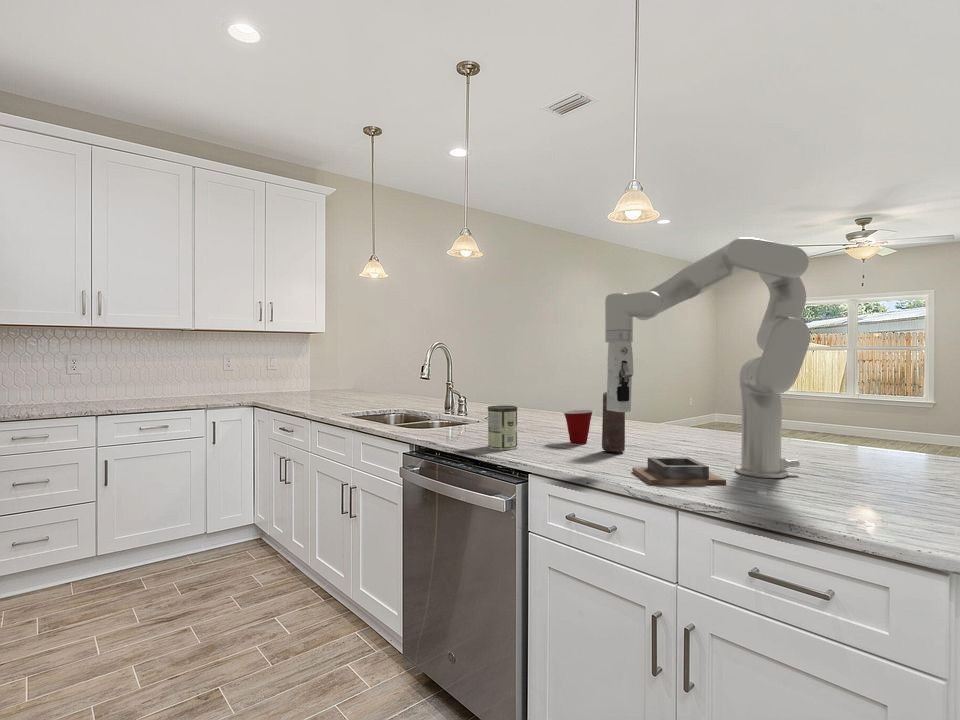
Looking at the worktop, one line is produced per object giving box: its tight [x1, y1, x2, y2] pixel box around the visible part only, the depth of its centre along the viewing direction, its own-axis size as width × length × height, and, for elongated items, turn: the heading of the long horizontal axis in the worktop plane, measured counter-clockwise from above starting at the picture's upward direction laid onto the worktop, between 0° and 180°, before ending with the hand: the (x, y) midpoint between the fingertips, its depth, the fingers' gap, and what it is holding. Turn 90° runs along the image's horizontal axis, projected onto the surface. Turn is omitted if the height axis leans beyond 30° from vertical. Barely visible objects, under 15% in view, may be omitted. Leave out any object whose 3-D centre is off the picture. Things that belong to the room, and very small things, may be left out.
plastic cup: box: [562, 409, 594, 445], centre depth 187 cm, size 11×11×12 cm
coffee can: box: [487, 405, 519, 451], centre depth 178 cm, size 10×10×14 cm
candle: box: [601, 391, 626, 453], centre depth 169 cm, size 8×7×20 cm
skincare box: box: [606, 368, 633, 413], centre depth 146 cm, size 6×4×12 cm
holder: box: [632, 456, 727, 486], centre depth 135 cm, size 19×14×4 cm
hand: (619, 399), depth 146 cm, fingers closed on skincare box, 7 cm apart
